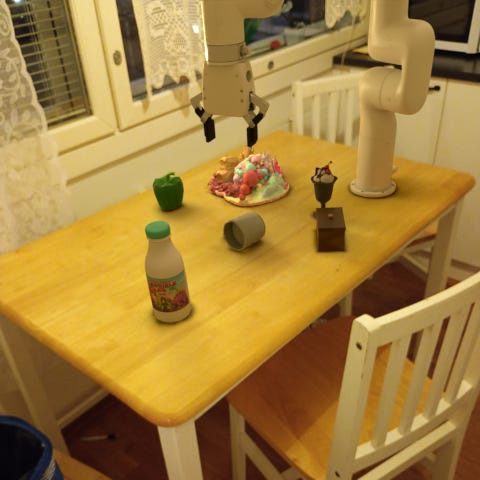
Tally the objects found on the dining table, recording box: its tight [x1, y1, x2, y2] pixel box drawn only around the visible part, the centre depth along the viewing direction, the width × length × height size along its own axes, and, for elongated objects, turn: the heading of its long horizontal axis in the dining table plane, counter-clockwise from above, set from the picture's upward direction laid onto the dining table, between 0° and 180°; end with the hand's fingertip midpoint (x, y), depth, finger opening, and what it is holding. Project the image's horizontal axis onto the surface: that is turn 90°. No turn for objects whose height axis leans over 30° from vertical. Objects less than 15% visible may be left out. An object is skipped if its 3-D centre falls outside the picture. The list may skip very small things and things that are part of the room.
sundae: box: [310, 160, 339, 218], centre depth 134 cm, size 7×7×15 cm
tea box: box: [315, 206, 347, 252], centre depth 125 cm, size 6×10×7 cm, turn 176°
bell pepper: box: [152, 171, 185, 211], centre depth 145 cm, size 8×8×10 cm
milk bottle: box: [144, 220, 192, 323], centre depth 103 cm, size 8×8×20 cm
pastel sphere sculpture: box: [206, 144, 290, 207], centre depth 153 cm, size 25×24×9 cm
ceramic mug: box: [222, 211, 267, 252], centre depth 128 cm, size 11×8×8 cm
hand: (231, 142), depth 110 cm, fingers open, 9 cm apart
